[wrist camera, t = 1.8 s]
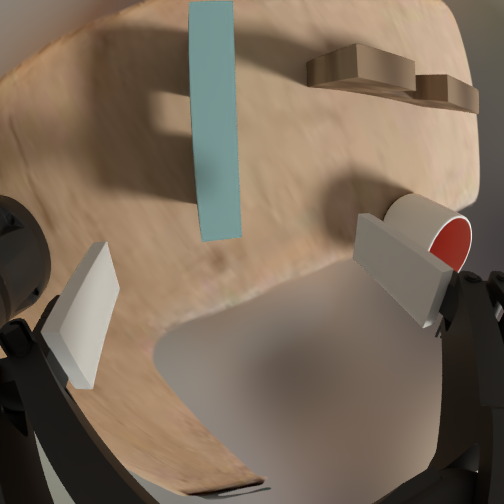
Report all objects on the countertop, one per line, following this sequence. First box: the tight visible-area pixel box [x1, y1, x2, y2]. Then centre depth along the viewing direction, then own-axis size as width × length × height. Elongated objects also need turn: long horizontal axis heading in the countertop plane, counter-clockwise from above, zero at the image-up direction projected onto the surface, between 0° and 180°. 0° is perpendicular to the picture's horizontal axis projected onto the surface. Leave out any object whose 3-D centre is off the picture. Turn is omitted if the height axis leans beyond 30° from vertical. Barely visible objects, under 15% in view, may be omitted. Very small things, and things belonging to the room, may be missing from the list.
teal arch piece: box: [188, 1, 242, 242], centre depth 21 cm, size 18×3×10 cm, turn 2°
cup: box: [383, 194, 472, 273], centre depth 33 cm, size 10×10×10 cm
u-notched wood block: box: [307, 44, 479, 114], centre depth 23 cm, size 18×3×10 cm, turn 92°
